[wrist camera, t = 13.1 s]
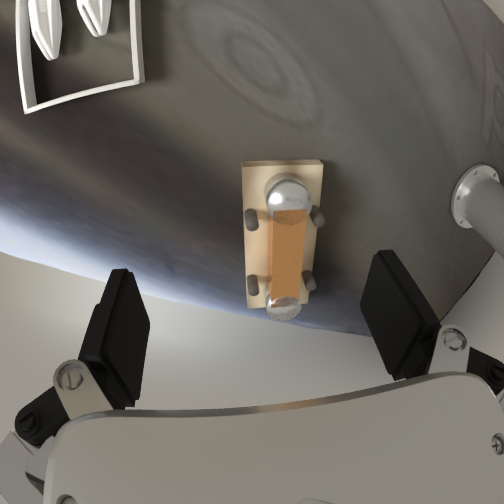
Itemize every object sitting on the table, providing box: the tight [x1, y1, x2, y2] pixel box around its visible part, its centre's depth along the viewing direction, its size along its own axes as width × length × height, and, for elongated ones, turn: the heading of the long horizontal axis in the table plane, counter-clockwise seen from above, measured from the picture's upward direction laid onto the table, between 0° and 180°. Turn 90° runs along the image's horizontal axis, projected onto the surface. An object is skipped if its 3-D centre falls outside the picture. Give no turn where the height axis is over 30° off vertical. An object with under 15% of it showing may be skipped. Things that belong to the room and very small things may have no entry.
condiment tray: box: [16, 0, 145, 114], centre depth 23 cm, size 16×17×2 cm
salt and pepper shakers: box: [28, 0, 111, 60], centre depth 21 cm, size 12×4×11 cm
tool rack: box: [241, 160, 326, 309], centre depth 43 cm, size 10×24×5 cm, turn 1°
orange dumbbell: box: [264, 172, 312, 321], centre depth 42 cm, size 5×22×4 cm, turn 1°
